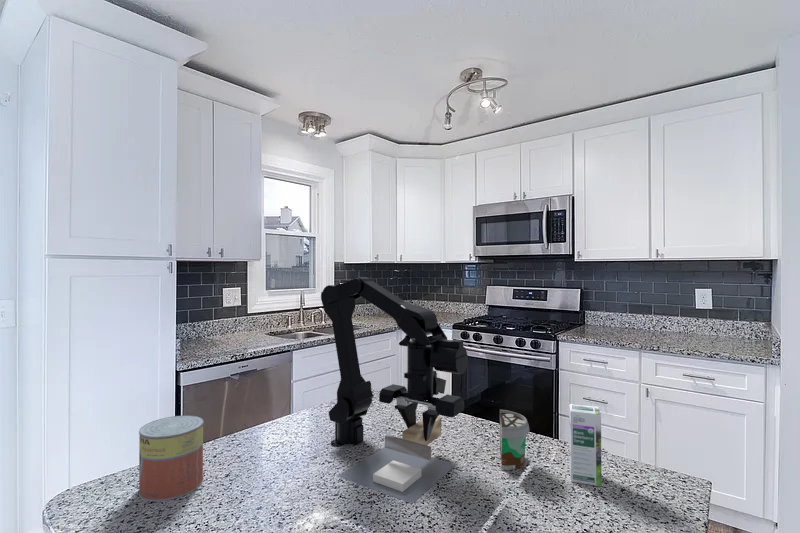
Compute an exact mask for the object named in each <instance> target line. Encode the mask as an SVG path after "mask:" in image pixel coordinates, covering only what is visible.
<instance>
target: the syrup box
mask: <svg viewBox="0 0 800 533" xmlns="http://www.w3.org/2000/svg"><path fill="white" fill-rule="evenodd" d="M568 408H569V409H568V410H569V414H568V415H569V474H570V481H571V483H579V484H583V485H590V486H596V487H599V488H600V487H602V483H603V482H602V481H603V480H602V415H601V414H602V413H601V411H600V408H599V406H598V405H597V406H596V405H593V406H592V405H583V404H575V403H570V404H569V406H568Z"/></svg>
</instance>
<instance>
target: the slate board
mask: <svg viewBox="0 0 800 533" xmlns="http://www.w3.org/2000/svg"><path fill="white" fill-rule="evenodd" d="M393 460H394V461H397V462H400V463H403V464H406V465H410V466H413V467H416V468H419V469H421V477H420V478H419V479H418V480H417V481H415V482H414V483H413V484H412V485H411V486H409V487H408V488H407V489H406V490H405V491H403V492H401V491H398V490H396V489H393V488H390V487H387V486H384V485H382V484H379V483H376V482H373V474H374V473H375V472H377V471H378V470H380V469H381V468H383V467H384V466H386V465H387V464H389V463H390V462H391V461H393ZM456 465H457V464H456V463H453V462H449V461H445V460H442V459H439V458H436V457H432V456H431V460H430V461H429V460H425V459H422V458H419V457H415V456H412V455H408V454H405V453H402V452H398V451H395V450H392V449H388V448H385V446H384V447H383V448H381V449H379V450H378V451H376V452H374V453H372V454H371V455H370V456H368V457H366V458H365V459H363V460H361V461H359V462H358V463H356V464H354V465H353V466H351V467H350V468H348V469H347V470H345V471H343V472H341V473H340V474H338V475H337V477H340V478H342V479H344V480H347V481H350V482H352V483H355V484H358V485H360V486H363V487H365V488H369V489H371V490H373V491H377V492H379V493H382V494H385V495H388V496H390V497H392V498H396V499H398V500H400V501H402V502H403V501H404V502H406V503H409V504H411V505H413V504H414V503H415V502H417V501H418V500H419V499H420V498H421V497H422V496H423V495H424V494H425V493H427V491H429V490H431V488H432V487H433V486H434V485H435V484H436V483H438V481H440V480H441V479H442V478H443V477H445V475H447V473H449V472H450V471H451V470H452V469H453V468H454V467H455V466H456Z"/></svg>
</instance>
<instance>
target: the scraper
mask: <svg viewBox="0 0 800 533" xmlns="http://www.w3.org/2000/svg"><path fill="white" fill-rule="evenodd" d="M401 433H402V435H401V436H402V437H398V436H393V435H390V434H385V435H384V447H385V448H388V449H392V450H395V451H398V452H402V453H405V454H408V455H412V456H415V457H419V458H422V459H425V460H429V461H430V460H431V457H432V446H431V445H429V444H431V443H432V442H434V441H435V440H437V438H439V437H440V436H441V435H442V417H441V416H438V417H437V419H436V421H435V423H434V426H433V429H432V432H431V435H430V438H429V440H428V441H425V438H424V430H423V419H421V420H420V421H417V422H416V424H414V425H413V426H411V427H409V428H405V430H402V432H401Z"/></svg>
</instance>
